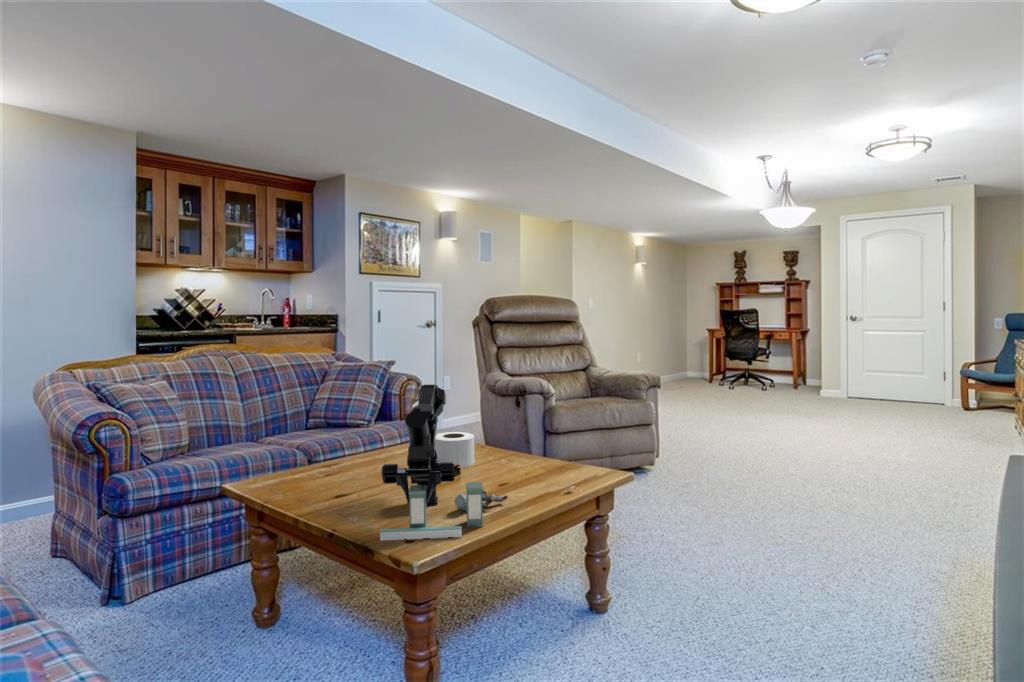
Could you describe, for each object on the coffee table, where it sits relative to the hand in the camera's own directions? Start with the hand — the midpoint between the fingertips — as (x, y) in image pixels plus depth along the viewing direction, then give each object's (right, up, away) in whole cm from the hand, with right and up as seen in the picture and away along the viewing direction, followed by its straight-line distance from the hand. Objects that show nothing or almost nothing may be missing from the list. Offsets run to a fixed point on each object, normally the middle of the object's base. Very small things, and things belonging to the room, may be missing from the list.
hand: (417, 502), depth 147 cm
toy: (+14, -8, +21) cm, 27 cm away
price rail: (+1, -8, -2) cm, 9 cm away
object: (+2, -6, +71) cm, 72 cm away
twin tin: (+14, -8, +7) cm, 17 cm away
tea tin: (0, -7, +2) cm, 7 cm away
